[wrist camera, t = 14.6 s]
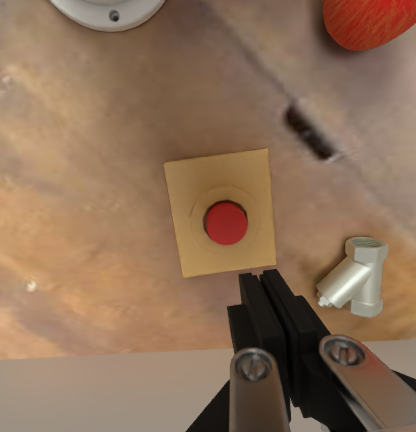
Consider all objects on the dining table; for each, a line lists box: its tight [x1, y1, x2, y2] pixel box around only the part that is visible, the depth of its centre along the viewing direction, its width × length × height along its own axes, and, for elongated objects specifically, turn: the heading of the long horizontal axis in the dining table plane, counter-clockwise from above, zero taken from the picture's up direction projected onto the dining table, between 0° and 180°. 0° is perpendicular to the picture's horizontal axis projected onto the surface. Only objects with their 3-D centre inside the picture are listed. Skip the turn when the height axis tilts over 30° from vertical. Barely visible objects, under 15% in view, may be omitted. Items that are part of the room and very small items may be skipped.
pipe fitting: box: [316, 237, 388, 317], centre depth 29 cm, size 8×4×7 cm
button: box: [206, 202, 248, 245], centre depth 23 cm, size 4×4×2 cm
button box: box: [163, 149, 276, 278], centre depth 26 cm, size 12×10×4 cm
